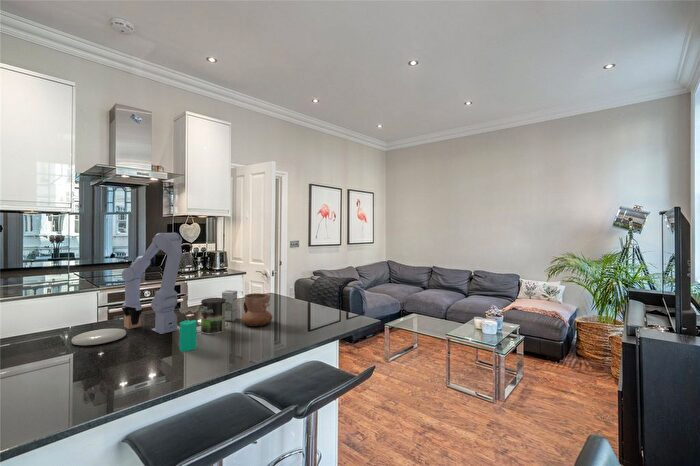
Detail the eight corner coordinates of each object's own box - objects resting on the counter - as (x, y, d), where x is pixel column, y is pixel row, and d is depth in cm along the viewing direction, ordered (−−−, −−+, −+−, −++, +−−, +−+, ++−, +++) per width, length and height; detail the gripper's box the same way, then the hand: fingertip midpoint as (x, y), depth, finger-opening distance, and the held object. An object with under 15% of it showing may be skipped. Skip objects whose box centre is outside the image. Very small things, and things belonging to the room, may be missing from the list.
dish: (133, 337, 140) (133, 334, 140) (80, 350, 125) (80, 346, 125) (116, 329, 150) (116, 325, 150) (65, 339, 136) (65, 336, 136)
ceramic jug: (280, 324, 162) (280, 295, 162) (255, 331, 151) (255, 299, 151) (257, 318, 173) (257, 290, 173) (232, 324, 162) (232, 294, 162)
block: (140, 326, 155) (140, 315, 155) (128, 328, 151) (128, 318, 151) (136, 324, 158) (136, 313, 158) (124, 326, 154) (124, 316, 154)
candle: (200, 347, 131) (200, 316, 131) (188, 352, 125) (188, 320, 125) (188, 344, 133) (188, 315, 132) (175, 350, 127) (175, 319, 127)
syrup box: (237, 318, 171) (237, 290, 171) (232, 321, 165) (232, 292, 165) (226, 317, 172) (227, 289, 171) (221, 321, 166) (221, 292, 166)
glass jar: (213, 336, 144) (213, 303, 144) (195, 332, 148) (195, 301, 147) (230, 329, 153) (230, 298, 153) (213, 326, 157) (213, 296, 157)
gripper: (116, 293, 155) (116, 322, 155) (129, 297, 147) (129, 328, 147) (133, 290, 161) (133, 318, 161) (146, 295, 152) (146, 324, 153)
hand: (132, 323), depth 154 cm, fingers closed on block, 5 cm apart
